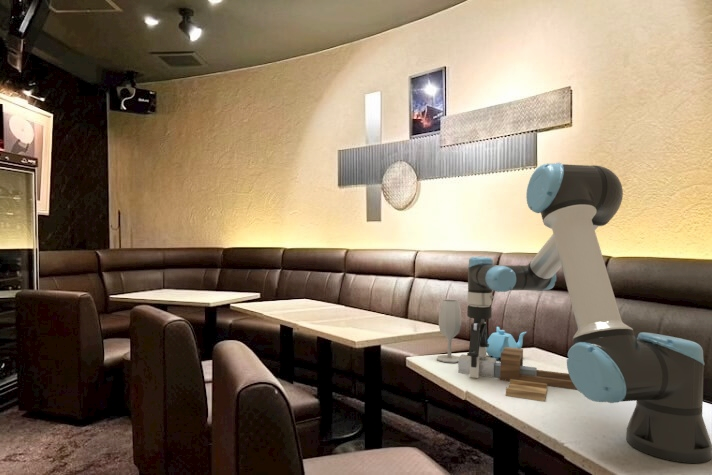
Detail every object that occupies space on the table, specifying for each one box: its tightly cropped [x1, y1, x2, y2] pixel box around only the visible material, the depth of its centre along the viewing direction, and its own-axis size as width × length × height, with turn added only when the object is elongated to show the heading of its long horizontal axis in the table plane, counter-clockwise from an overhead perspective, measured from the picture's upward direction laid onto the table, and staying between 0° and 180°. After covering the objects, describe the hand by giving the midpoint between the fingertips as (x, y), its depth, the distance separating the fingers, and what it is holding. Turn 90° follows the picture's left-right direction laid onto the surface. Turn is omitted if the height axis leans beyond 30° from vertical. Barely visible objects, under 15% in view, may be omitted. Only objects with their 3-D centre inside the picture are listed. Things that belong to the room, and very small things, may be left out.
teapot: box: [486, 326, 527, 361], centre depth 176 cm, size 13×13×10 cm
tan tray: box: [505, 379, 548, 402], centre depth 137 cm, size 10×10×2 cm
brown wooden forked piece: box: [499, 347, 578, 391], centre depth 149 cm, size 10×24×8 cm, turn 66°
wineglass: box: [436, 298, 462, 364], centre depth 172 cm, size 9×9×21 cm
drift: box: [493, 362, 538, 378], centre depth 152 cm, size 12×4×4 cm, turn 64°
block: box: [457, 354, 497, 378], centre depth 157 cm, size 11×5×5 cm, turn 66°
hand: (478, 371), depth 157 cm, fingers open, 13 cm apart
